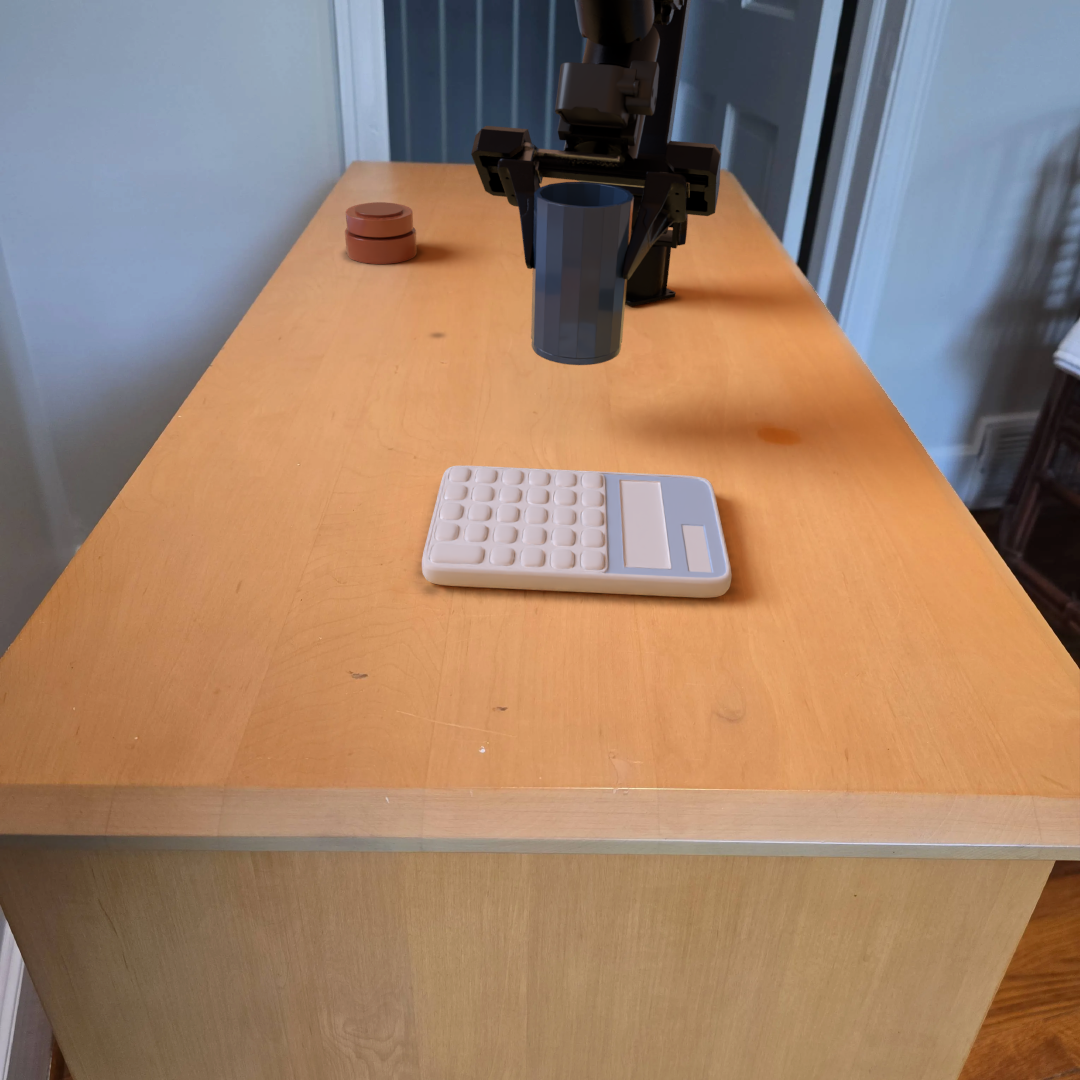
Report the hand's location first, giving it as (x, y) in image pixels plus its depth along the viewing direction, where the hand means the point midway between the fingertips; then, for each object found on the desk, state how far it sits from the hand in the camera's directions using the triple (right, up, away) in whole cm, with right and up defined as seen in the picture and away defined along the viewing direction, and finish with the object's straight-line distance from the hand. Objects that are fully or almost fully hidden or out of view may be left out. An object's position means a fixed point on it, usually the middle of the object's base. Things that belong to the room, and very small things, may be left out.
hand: (576, 271), depth 71 cm
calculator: (0, -20, -6) cm, 21 cm away
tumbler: (0, -5, +5) cm, 7 cm away
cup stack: (-22, +15, +45) cm, 53 cm away
